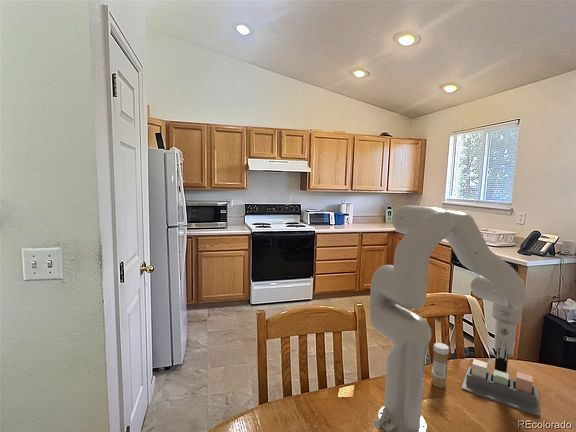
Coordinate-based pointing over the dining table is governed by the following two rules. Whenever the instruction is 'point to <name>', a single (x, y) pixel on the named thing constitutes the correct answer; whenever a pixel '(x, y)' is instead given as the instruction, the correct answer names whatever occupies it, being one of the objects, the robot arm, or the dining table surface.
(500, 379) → the green button
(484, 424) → the dining table surface
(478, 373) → the cream button
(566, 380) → the dining table surface
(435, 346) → the sprinkles bottle
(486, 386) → the button panel
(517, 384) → the terracotta button
